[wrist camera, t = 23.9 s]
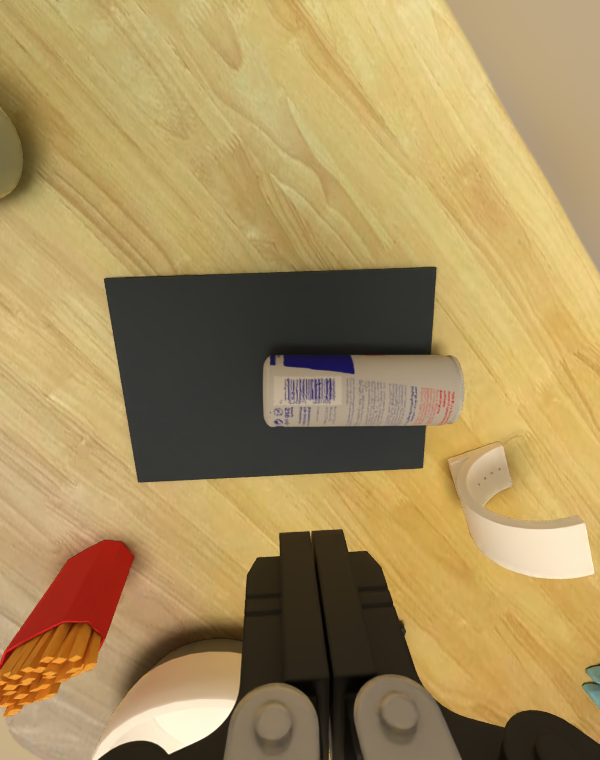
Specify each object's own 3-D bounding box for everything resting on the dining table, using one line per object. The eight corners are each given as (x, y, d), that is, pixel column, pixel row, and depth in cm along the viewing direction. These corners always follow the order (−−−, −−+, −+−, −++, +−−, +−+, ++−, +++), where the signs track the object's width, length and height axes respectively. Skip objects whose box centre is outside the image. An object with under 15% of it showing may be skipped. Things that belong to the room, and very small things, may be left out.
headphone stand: (508, 481, 42) (594, 574, 30) (448, 501, 42) (510, 600, 31) (498, 440, 40) (585, 522, 29) (436, 462, 41) (497, 551, 29)
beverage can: (264, 433, 36) (443, 431, 36) (262, 417, 30) (471, 415, 31) (265, 370, 37) (435, 369, 38) (262, 343, 32) (460, 343, 33)
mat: (140, 479, 40) (138, 482, 39) (106, 277, 34) (103, 278, 33) (421, 465, 41) (423, 468, 40) (434, 266, 35) (436, 267, 34)
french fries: (77, 597, 44) (-2, 740, 31) (49, 568, 42) (-45, 704, 30) (153, 557, 42) (102, 689, 30) (126, 526, 41) (61, 650, 29)
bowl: (96, 741, 50) (62, 836, 42) (150, 594, 44) (121, 673, 36) (279, 778, 54) (279, 872, 46) (352, 647, 47) (367, 730, 39)
